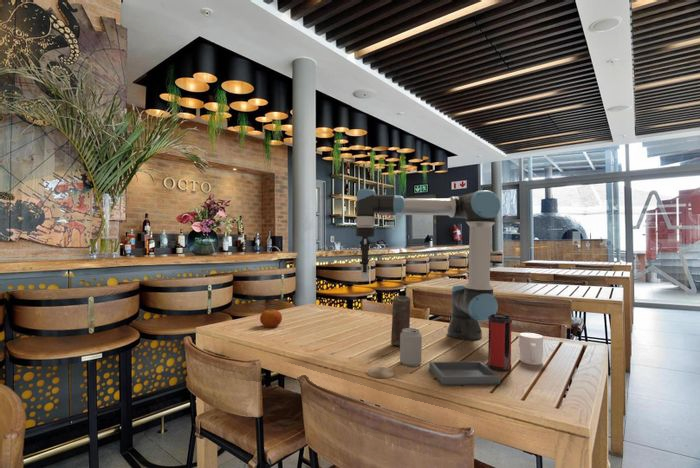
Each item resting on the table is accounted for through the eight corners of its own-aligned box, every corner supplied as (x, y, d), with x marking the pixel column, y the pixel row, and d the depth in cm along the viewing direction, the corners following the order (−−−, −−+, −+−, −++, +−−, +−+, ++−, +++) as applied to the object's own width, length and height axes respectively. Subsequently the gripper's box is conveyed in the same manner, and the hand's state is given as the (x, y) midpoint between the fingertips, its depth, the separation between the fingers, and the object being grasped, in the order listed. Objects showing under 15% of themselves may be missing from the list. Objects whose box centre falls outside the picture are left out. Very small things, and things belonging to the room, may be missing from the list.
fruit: (279, 329, 178) (279, 312, 178) (257, 329, 178) (257, 312, 179) (283, 324, 189) (283, 308, 189) (263, 323, 189) (263, 307, 189)
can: (421, 368, 129) (421, 332, 129) (399, 366, 130) (399, 331, 130) (421, 361, 136) (421, 327, 136) (400, 359, 138) (401, 326, 138)
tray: (480, 368, 129) (480, 361, 129) (500, 385, 115) (500, 376, 115) (429, 369, 128) (429, 361, 128) (442, 385, 114) (442, 377, 114)
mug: (517, 331, 145) (541, 333, 142) (517, 355, 144) (540, 358, 142) (521, 339, 133) (546, 341, 131) (521, 365, 133) (546, 368, 131)
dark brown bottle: (411, 344, 157) (412, 296, 157) (406, 349, 150) (407, 299, 150) (394, 342, 160) (395, 295, 160) (388, 346, 153) (389, 297, 154)
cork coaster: (391, 368, 128) (391, 366, 128) (397, 378, 119) (397, 376, 119) (365, 368, 127) (365, 366, 127) (369, 378, 118) (369, 376, 118)
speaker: (499, 372, 125) (500, 318, 125) (482, 365, 132) (483, 314, 133) (516, 370, 128) (517, 317, 129) (499, 362, 135) (499, 312, 136)
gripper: (356, 227, 167) (355, 275, 167) (355, 226, 142) (354, 282, 142) (373, 227, 167) (372, 275, 167) (375, 226, 142) (374, 282, 142)
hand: (364, 278), depth 154 cm, fingers open, 13 cm apart
